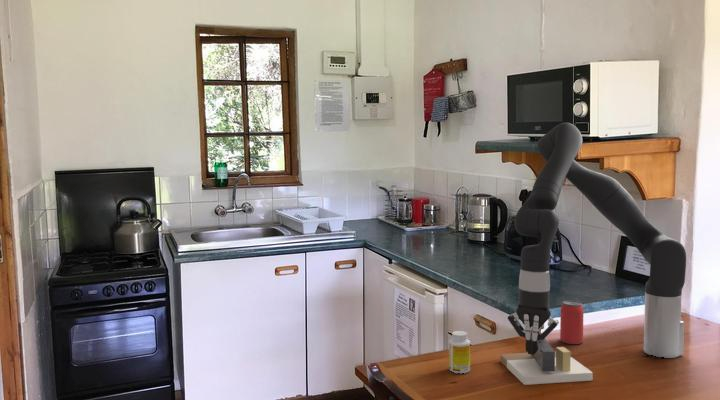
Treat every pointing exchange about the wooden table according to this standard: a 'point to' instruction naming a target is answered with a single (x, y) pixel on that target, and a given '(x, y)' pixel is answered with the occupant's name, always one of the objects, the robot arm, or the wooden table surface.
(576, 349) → the wooden table surface
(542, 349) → the block
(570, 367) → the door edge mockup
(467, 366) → the supplement bottle
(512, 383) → the wooden table surface
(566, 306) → the beer can
